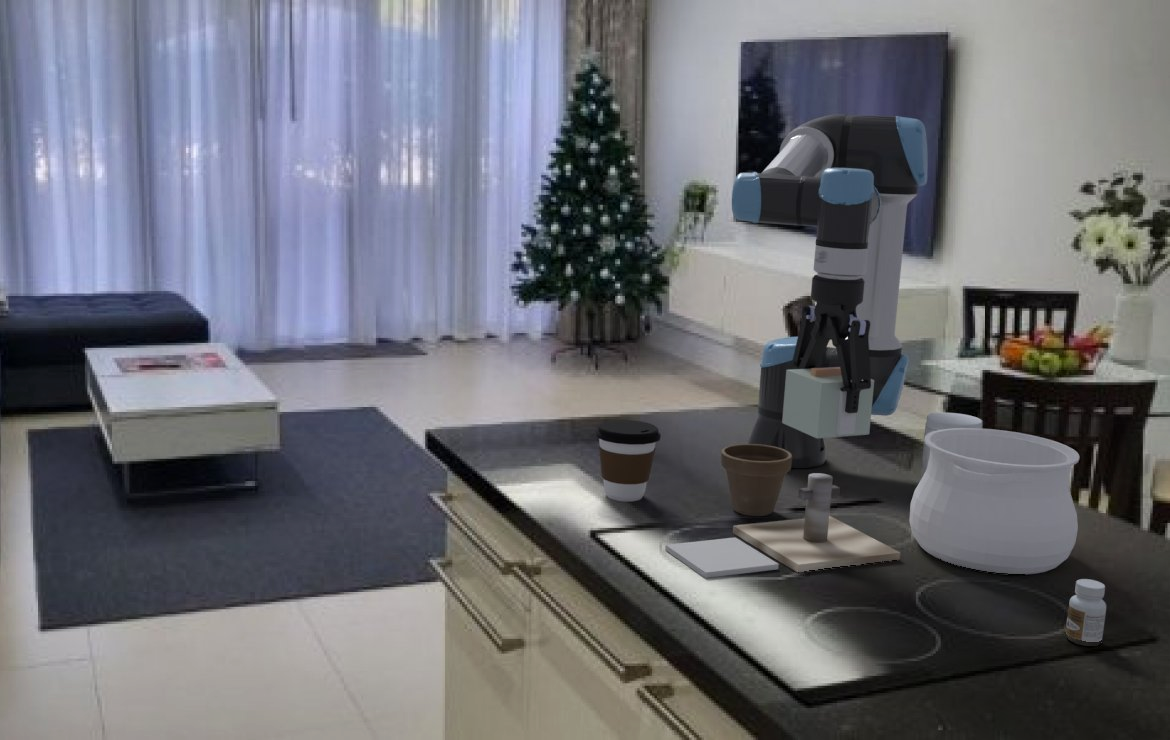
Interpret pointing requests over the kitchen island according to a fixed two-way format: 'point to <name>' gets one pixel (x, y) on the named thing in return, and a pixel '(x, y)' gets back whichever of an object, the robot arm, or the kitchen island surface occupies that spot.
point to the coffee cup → (626, 457)
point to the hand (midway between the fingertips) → (825, 424)
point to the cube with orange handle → (821, 402)
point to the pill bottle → (1087, 611)
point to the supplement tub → (946, 422)
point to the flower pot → (755, 476)
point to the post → (815, 535)
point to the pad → (721, 557)
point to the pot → (995, 501)
